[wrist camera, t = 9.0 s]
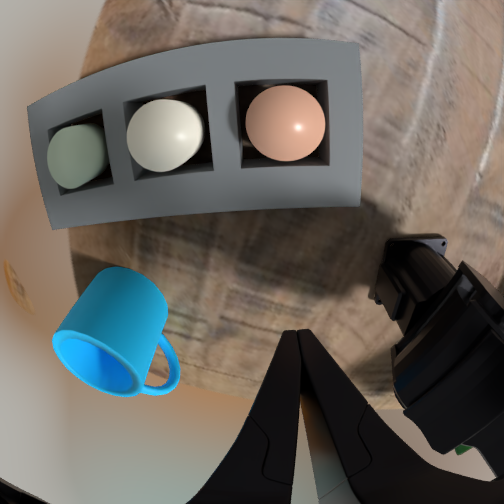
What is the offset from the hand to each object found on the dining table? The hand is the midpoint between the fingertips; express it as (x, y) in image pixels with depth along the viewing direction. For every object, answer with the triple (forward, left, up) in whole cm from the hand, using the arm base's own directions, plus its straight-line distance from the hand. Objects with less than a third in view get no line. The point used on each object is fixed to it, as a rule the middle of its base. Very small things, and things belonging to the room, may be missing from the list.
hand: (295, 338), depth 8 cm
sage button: (+12, -6, -10) cm, 17 cm away
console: (+6, -6, -12) cm, 15 cm away
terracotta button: (-1, -6, -10) cm, 12 cm away
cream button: (+6, -6, -10) cm, 13 cm away
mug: (+13, +10, -12) cm, 21 cm away
